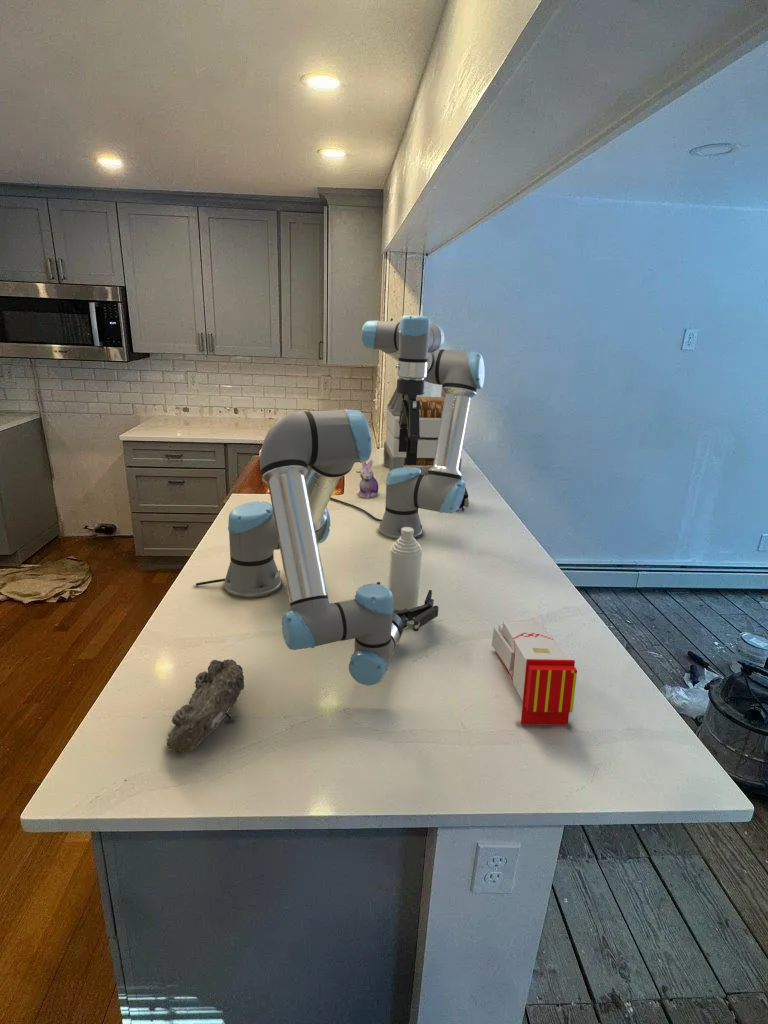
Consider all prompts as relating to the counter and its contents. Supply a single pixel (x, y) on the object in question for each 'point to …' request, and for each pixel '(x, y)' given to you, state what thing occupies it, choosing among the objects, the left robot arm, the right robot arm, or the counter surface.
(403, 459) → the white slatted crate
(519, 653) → the toy
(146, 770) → the counter surface
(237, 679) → the fossil
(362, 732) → the counter surface
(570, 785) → the counter surface
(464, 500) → the figurine character
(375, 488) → the figurine
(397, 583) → the bottle
